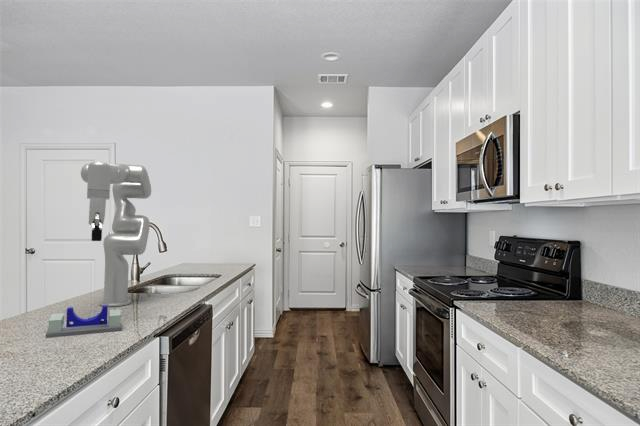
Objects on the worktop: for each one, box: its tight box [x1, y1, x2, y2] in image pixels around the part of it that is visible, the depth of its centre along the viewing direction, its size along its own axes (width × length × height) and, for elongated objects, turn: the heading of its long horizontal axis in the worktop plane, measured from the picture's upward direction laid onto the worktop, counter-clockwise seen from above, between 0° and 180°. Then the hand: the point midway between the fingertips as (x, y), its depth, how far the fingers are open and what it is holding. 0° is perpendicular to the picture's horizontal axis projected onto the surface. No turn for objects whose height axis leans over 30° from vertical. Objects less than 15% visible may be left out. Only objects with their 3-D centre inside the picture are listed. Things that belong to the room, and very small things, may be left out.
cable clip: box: [65, 305, 109, 327], centre depth 139 cm, size 12×4×6 cm, turn 116°
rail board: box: [45, 308, 123, 339], centre depth 139 cm, size 12×22×5 cm, turn 118°
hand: (96, 240), depth 152 cm, fingers open, 9 cm apart
